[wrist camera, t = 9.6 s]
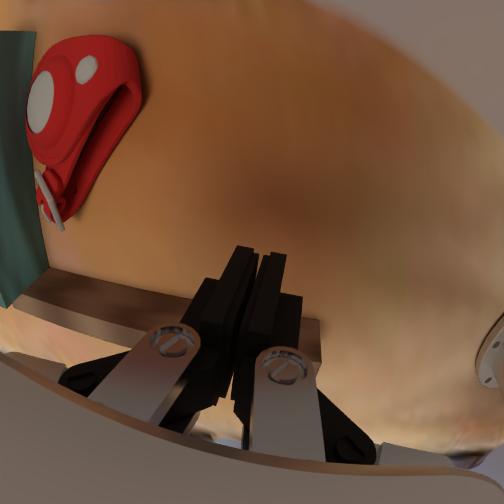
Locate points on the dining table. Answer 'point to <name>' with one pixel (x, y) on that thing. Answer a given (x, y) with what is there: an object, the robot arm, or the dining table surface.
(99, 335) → the frame
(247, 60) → the dining table surface
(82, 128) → the tracker holder
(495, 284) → the dining table surface
